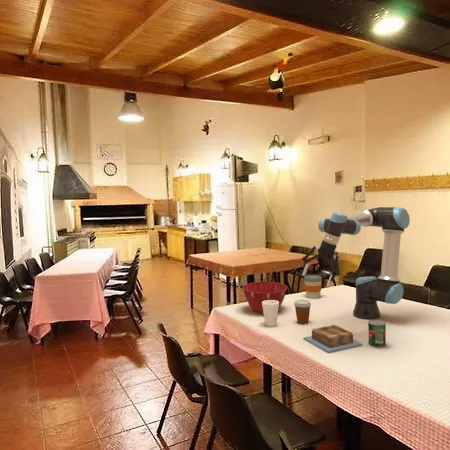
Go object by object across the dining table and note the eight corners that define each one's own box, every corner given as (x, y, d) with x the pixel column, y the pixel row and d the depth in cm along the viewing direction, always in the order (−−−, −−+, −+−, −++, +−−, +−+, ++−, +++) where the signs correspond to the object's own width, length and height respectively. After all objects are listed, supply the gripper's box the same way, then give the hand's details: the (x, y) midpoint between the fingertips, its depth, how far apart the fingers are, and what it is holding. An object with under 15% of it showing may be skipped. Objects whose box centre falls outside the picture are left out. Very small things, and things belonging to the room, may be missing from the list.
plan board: (335, 333, 209) (335, 331, 209) (362, 345, 191) (362, 343, 191) (303, 339, 202) (303, 337, 202) (328, 353, 183) (328, 351, 183)
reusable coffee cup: (304, 299, 279) (304, 278, 278) (303, 295, 291) (303, 274, 290) (322, 299, 277) (322, 278, 275) (321, 295, 289) (321, 274, 288)
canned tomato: (364, 343, 194) (364, 321, 193) (377, 340, 197) (377, 318, 196) (376, 348, 187) (376, 325, 186) (389, 345, 190) (389, 323, 189)
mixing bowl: (295, 314, 245) (294, 289, 244) (250, 319, 238) (250, 293, 237) (277, 302, 273) (277, 280, 271) (237, 306, 266) (237, 283, 265)
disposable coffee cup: (311, 325, 223) (311, 304, 222) (294, 324, 225) (293, 303, 224) (311, 320, 232) (310, 299, 232) (294, 319, 234) (294, 299, 233)
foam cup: (268, 328, 220) (267, 305, 219) (259, 324, 228) (258, 301, 227) (282, 325, 224) (282, 302, 224) (273, 321, 233) (272, 299, 232)
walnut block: (334, 333, 205) (334, 324, 205) (353, 342, 193) (353, 332, 192) (311, 338, 200) (311, 328, 200) (329, 347, 187) (329, 337, 187)
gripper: (304, 233, 203) (291, 271, 207) (351, 252, 191) (336, 292, 195) (309, 232, 210) (296, 269, 214) (355, 251, 198) (340, 290, 202)
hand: (315, 280), depth 205 cm, fingers open, 13 cm apart
